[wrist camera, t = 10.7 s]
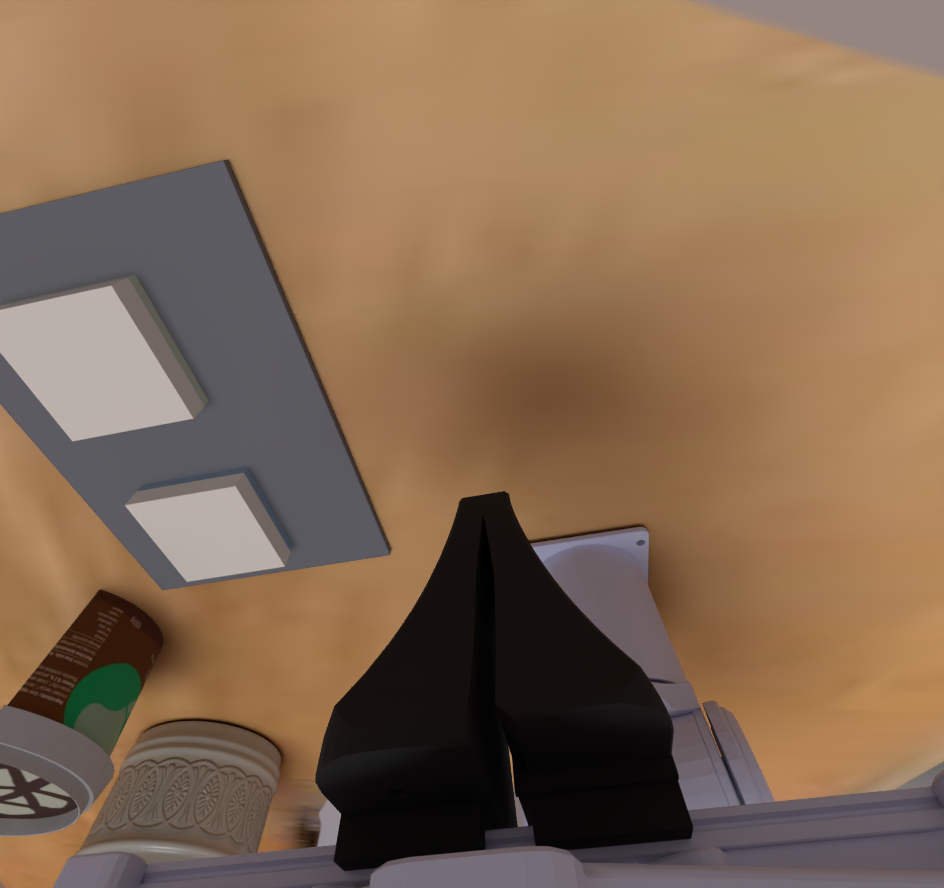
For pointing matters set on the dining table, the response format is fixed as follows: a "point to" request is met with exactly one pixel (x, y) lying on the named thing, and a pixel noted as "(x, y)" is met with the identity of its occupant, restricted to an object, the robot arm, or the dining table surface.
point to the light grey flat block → (212, 524)
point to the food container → (73, 717)
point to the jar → (189, 794)
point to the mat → (194, 364)
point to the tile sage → (99, 359)
